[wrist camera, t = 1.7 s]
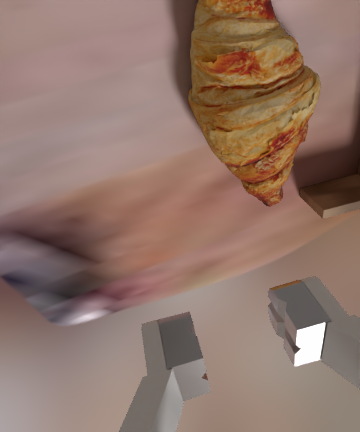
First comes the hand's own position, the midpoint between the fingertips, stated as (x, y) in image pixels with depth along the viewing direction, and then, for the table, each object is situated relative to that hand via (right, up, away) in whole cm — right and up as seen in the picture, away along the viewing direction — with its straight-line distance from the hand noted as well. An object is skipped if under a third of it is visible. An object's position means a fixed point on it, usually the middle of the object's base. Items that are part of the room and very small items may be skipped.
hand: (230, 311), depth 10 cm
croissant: (+4, +14, +18) cm, 23 cm away
